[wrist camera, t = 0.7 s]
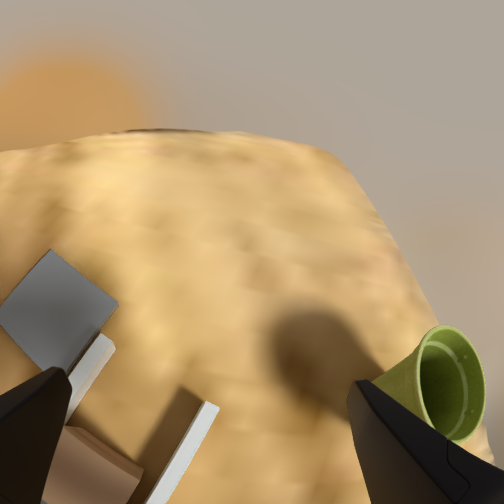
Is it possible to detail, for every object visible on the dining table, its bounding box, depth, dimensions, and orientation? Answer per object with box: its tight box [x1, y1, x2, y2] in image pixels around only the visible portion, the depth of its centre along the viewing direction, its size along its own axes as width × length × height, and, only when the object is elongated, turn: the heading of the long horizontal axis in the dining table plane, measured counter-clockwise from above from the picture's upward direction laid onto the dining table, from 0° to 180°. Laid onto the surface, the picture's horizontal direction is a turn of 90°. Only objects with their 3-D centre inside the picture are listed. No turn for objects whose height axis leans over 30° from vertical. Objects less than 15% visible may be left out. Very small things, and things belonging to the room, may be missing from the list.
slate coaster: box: [0, 249, 119, 374], centre depth 18 cm, size 8×8×1 cm
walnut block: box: [42, 426, 144, 504], centre depth 11 cm, size 5×5×5 cm
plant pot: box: [372, 325, 486, 445], centre depth 18 cm, size 9×9×9 cm
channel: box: [41, 333, 220, 504], centre depth 12 cm, size 17×9×2 cm, turn 155°
